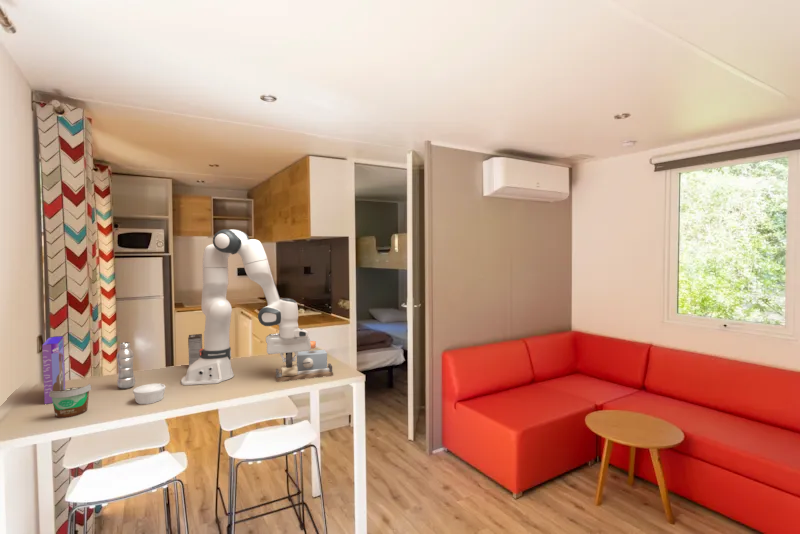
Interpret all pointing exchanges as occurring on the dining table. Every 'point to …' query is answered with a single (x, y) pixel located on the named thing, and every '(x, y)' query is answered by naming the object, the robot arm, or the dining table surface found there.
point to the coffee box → (194, 347)
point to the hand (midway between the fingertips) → (289, 361)
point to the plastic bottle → (125, 366)
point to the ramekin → (149, 393)
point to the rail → (305, 374)
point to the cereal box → (53, 366)
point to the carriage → (289, 367)
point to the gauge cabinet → (311, 360)
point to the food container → (70, 401)
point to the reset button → (313, 344)
